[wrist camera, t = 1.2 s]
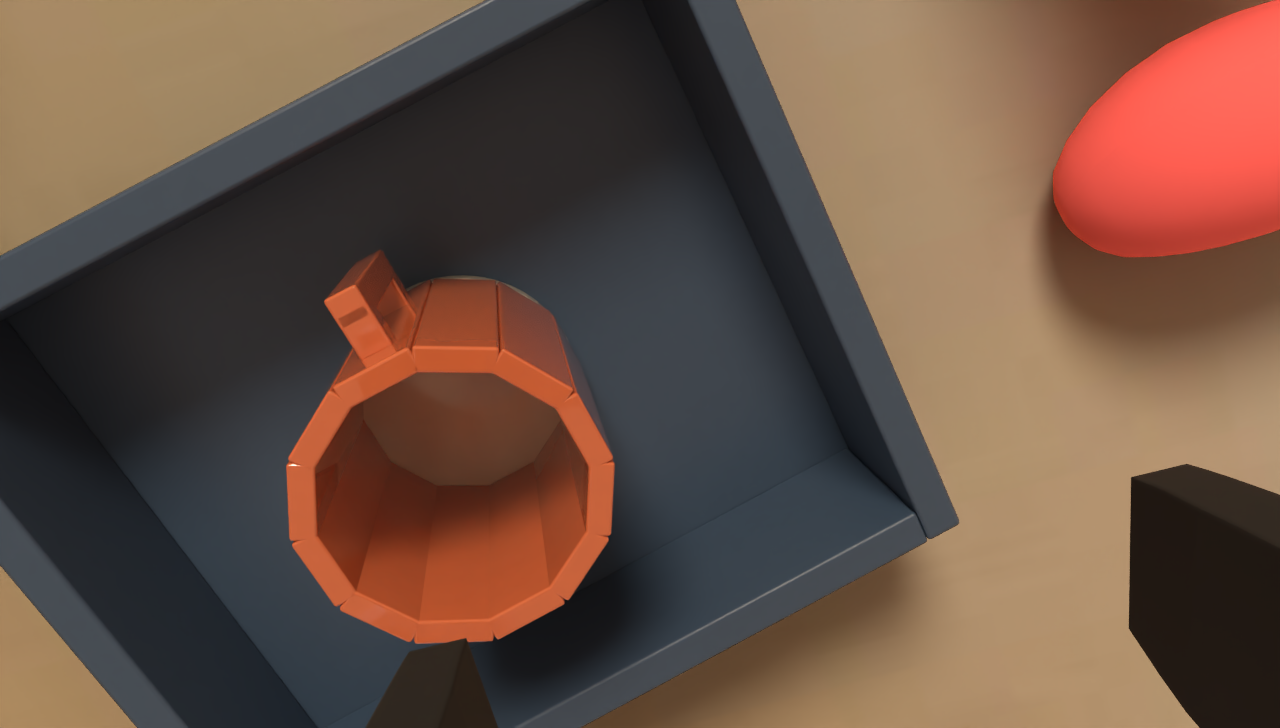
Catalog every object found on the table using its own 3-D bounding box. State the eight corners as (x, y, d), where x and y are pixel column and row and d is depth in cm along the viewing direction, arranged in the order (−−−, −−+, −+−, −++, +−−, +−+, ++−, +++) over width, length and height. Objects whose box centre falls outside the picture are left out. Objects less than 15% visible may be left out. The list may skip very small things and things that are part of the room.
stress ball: (1042, -24, 23) (1091, 72, 18) (1473, -64, 21) (1659, 32, 16) (1021, 169, 26) (1058, 295, 21) (1395, 150, 24) (1531, 286, 19)
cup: (421, 532, 22) (397, 695, 16) (270, 299, 20) (175, 385, 14) (617, 428, 22) (666, 551, 16) (484, 186, 21) (482, 222, 14)
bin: (312, 753, 24) (274, 893, 20) (-40, 298, 20) (-184, 352, 16) (878, 450, 24) (962, 524, 20) (647, -64, 20) (690, -108, 16)
